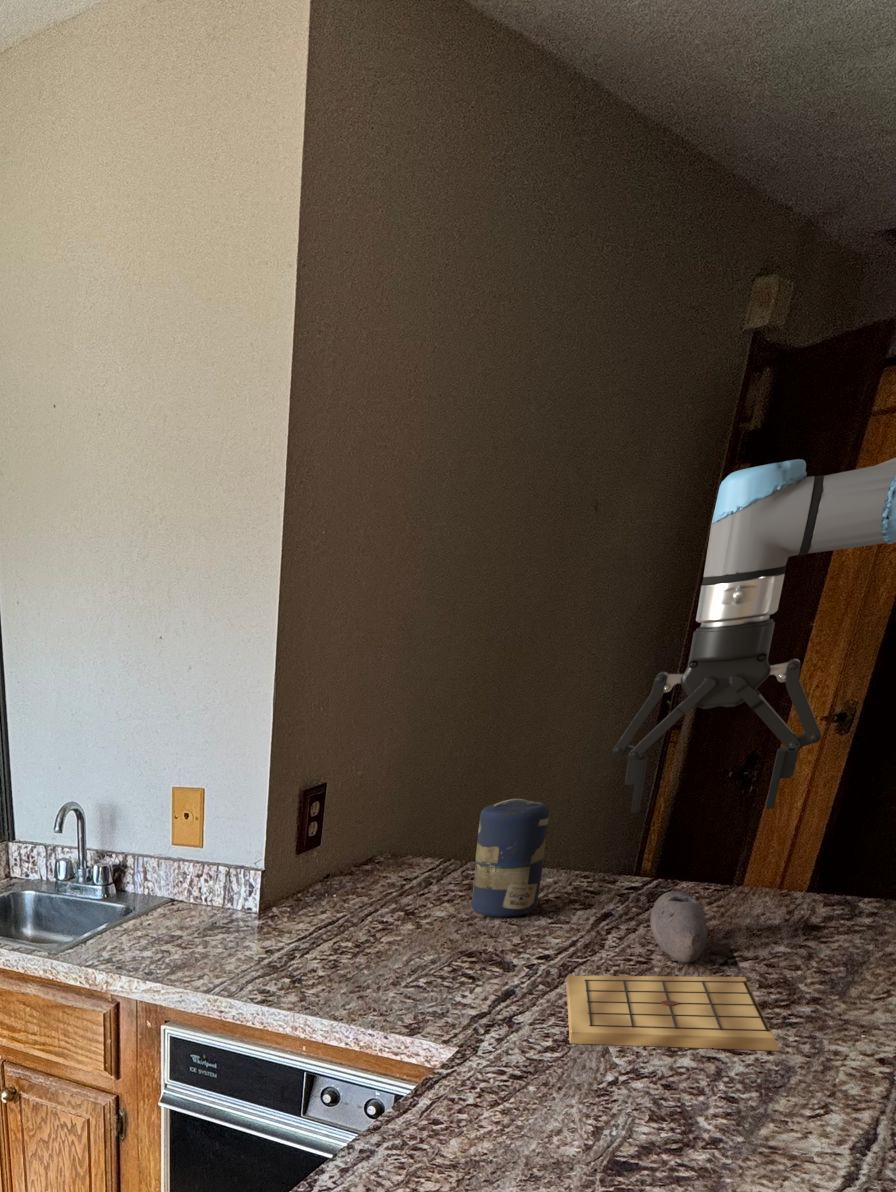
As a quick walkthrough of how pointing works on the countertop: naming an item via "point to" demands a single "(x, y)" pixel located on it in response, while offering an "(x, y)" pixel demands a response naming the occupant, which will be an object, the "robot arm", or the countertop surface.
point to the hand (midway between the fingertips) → (700, 809)
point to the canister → (509, 857)
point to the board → (666, 1012)
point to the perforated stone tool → (679, 926)
